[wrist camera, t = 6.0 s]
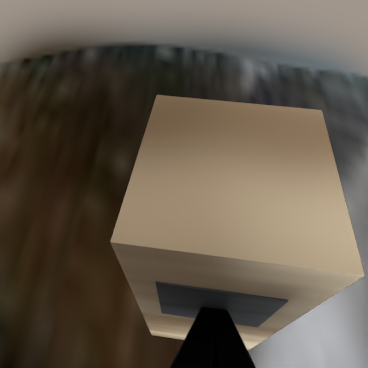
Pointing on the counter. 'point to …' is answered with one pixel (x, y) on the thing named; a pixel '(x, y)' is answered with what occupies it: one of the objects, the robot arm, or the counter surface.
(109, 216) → the counter surface
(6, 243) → the counter surface
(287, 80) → the counter surface
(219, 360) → the robot arm
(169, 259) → the maple block
